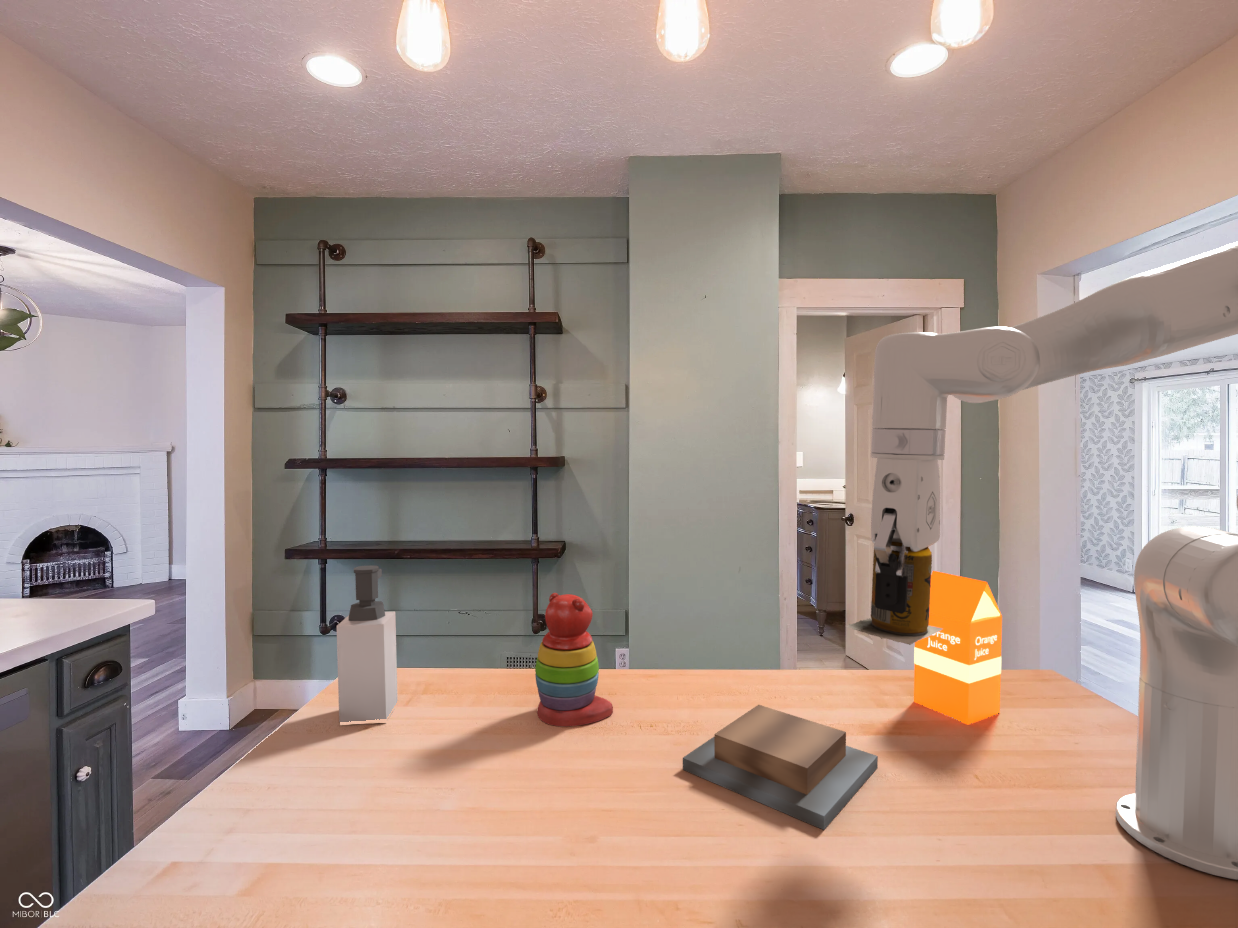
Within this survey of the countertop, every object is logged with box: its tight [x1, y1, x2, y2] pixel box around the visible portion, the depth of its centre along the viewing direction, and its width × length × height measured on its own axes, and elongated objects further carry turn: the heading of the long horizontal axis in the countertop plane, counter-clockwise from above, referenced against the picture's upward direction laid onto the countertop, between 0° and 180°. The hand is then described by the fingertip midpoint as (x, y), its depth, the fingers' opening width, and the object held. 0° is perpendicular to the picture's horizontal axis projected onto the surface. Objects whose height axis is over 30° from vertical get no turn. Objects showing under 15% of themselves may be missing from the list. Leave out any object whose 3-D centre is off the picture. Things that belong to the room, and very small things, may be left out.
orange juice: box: [913, 570, 1003, 726], centre depth 93 cm, size 8×9×20 cm
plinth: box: [682, 704, 879, 831], centre depth 77 cm, size 18×16×4 cm
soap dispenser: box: [336, 565, 399, 723], centre depth 93 cm, size 6×9×22 cm
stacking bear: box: [534, 592, 614, 728], centre depth 92 cm, size 11×10×18 cm
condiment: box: [845, 541, 943, 646], centre depth 70 cm, size 7×8×12 cm
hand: (900, 602), depth 71 cm, fingers closed on condiment, 6 cm apart
